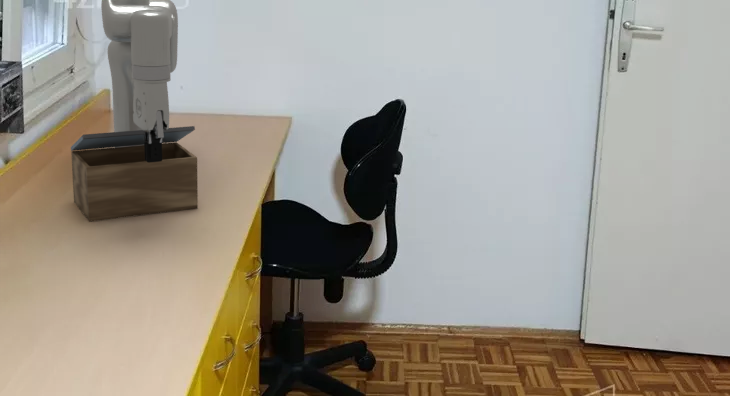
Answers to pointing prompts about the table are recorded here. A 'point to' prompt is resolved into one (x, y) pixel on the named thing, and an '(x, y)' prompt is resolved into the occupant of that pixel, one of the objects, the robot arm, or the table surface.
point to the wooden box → (133, 182)
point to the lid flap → (126, 138)
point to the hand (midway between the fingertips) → (153, 160)
